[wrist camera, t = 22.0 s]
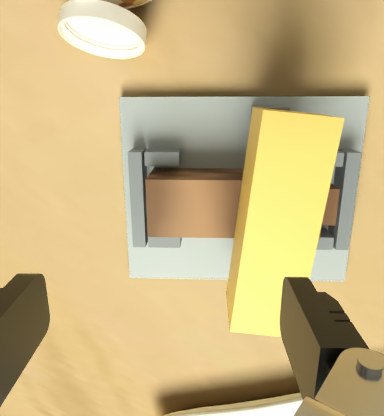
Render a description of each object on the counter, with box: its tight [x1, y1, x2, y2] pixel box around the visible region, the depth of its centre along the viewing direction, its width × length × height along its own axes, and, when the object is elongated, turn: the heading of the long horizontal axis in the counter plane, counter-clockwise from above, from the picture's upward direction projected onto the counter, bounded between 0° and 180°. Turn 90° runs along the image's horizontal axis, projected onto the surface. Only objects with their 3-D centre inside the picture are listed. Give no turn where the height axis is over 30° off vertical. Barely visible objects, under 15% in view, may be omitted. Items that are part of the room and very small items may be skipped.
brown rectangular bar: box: [145, 168, 340, 240], centre depth 32 cm, size 16×5×5 cm, turn 90°
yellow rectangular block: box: [226, 107, 345, 337], centre depth 27 cm, size 5×16×6 cm, turn 175°
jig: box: [119, 96, 370, 281], centre depth 33 cm, size 22×18×6 cm
